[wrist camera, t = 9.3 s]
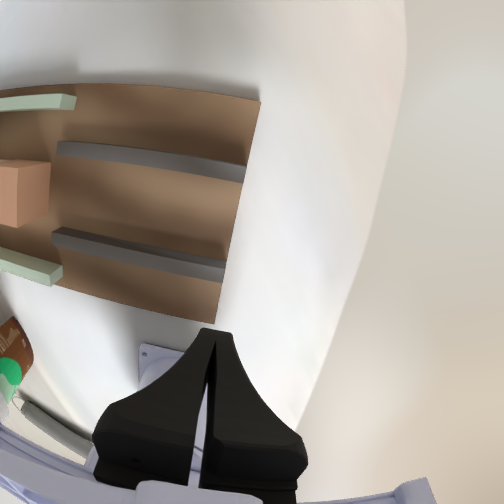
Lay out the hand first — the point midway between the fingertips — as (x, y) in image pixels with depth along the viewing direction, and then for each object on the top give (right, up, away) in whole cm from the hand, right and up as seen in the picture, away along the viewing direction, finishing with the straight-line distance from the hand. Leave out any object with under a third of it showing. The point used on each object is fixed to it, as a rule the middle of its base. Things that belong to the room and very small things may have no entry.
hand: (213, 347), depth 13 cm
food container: (-25, -8, +12) cm, 29 cm away
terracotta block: (-15, +9, +5) cm, 19 cm away
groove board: (-11, +9, +7) cm, 16 cm away
